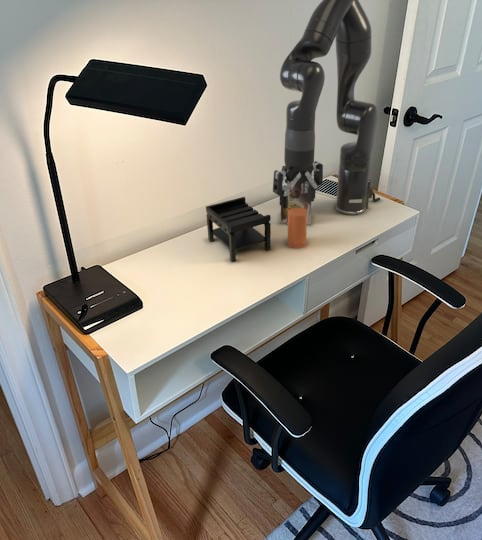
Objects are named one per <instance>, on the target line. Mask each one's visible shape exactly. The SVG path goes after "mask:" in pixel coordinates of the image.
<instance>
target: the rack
mask: <svg viewBox="0 0 482 540" xmlns="http://www.w3.org/2000/svg"><path fill="white" fill-rule="evenodd" d="M205 212H206V214H205V215H206V227H207V240H208V241H209V242H214V241H215V238H217V239H218V240H219V241H220V242H221V243H222V244H223V245H224V246H226V248H228V249H229V261H230V262H231V263H234V262H237V251H240V250H243V249H247V248H250V247H252V246H256V245H259V244H262V243H264V250H265V251H266V252H268V251H271V248H272V247H271V246H272V245H271V242H272V241H271V239H272V237H271V236H272V235H271V232H272V231H271V219H272V218H271V214H265V215H263V214H262V213H260V212H259V211H258V210H256V209H254V207H252V206H251V205H249V204H248V203H247V202H246V197H245V196H241V197H237V198H234V199H233V198H232V199H230V200H225V201H222V202H217V203H215V204H210V205H207V206H205ZM214 224H215V225H216V226H217V228H214ZM262 225H264V235H263V234H262V233H260V232H259V231H258V230H256V228H255V227H259V226H262ZM214 237H215V238H214Z"/></svg>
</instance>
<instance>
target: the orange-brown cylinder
mask: <svg viewBox="0 0 482 540" xmlns="http://www.w3.org/2000/svg"><path fill="white" fill-rule="evenodd" d="M307 226H308V225H307V210H306V209H304V208H300V207H294V208H291V209H289V210H288V224H287V239H286V241H287V242H286V243H287V246H288V247H290V248H292V249H302V248H305V246H306V245H307V231H308V230H307V229H308V228H307Z"/></svg>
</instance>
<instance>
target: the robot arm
mask: <svg viewBox="0 0 482 540" xmlns="http://www.w3.org/2000/svg"><path fill="white" fill-rule="evenodd" d="M334 41H335V56H336V74H337V75H336V76H337V77H336V78H337V93H336V111H335V113H336V115H335V116H336V125H337V128H338V129H339V131H340V132H343V133H346V134H350V135H351V134H352V135H355V136H357V139H356V141H351V142H347V143H344V144H343V145H341V146H340V149H339V161H338V175H337V189H336V203H335V210H336V211H338V212H339V213H340V214H344V215H350V216H354V215H355V216H356V215H360V214H363V213H364V212H366V210H367V209H368V208H369V200H370V199H372V201H373V202H376V203H377V202H378V201H380V200H381V198H380V197H376V193H375V191H374V188H373V187H372V188H371V183H372V182H371V180H370V179H369V178H370V168H371V159H372V151H373V148H374V144H375V137H376V132H377V131H376V130H377V125H378V116H379V110H378V107H377V105H376V104H374V103H372V102H367V101H361V100H356V99H355V87H356V84H357V80H358V79H359V77H360V76H361V74H362V73H363V71H364V69H365V68H366V66H367V64H368V63H369V61H370V58H371V56H372V25H371V23H370V20H369V18H368V16H367V14H366V12H365V10H364V8H363V6H362V4H361V2H360V1H359V0H322V1H321V2H319V4H318V5H317V6H316V7H315V9H314V11H313V12H312V14H311V16H310V18H309V20H308V22H307V25H306V27H305V29H304V32H303V34H302V37H301V38H300V40H298V42H297V43H295V44H296V45H295V46H294V47H293V48H292V50H291V51H290V52H289V54H287V56H286V58H285V59H284V61H283V63H282V64H281V67H280V71H279V79H280V83H281V86H282V87H283V88H284V89H287V90H289V91H293V92H299V93H301V97H300V100H294V101H293V100H292V101H290V102H289V103H288V104H287V106H286V116H285V131H284V132H285V133H284V160H283V161H284V166H285V169H284V171H281V170H277V169H276V170H274V172H273V180H272V181H273V182H272V192H273V193H274V194H276V195H277V196H279V206H280V208H281V207H282V208H284V209H287V208H288V196H287V195H288V193H289V191H290V190H291V189H293V187H294V186H295V185H298V184H300V183H305V182H307V184H308V185H309V187H308V189H307V199H308V200H309V201H310V202H311V203H312V202H314V201H315V199H316V194H317V193H316V192H317V188H318V186H322V185H323V183H324V170H323V169H324V165H323V164H322V163H321V162H320V161H317V160H315V149H316V146H315V145H316V131H315V126H316V111H317V108H318V103H319V100H320V97H321V94H322V92H323V91H322V90H323V89H324V85H325V78H326V76H325V70H324V68H323V66H322V65H321V64H320V63H319V62H317V61H313V60H314V59H319V58H323V57H325V56H327V55H328V54H329V52H330V51H331V48H332V46H333V43H334ZM311 173H312V174H313V175H312V176H311ZM284 176H286V177H285V179H284ZM288 181H289V182H290V184H288ZM285 188H286V189H285ZM284 190H285V191H284Z"/></svg>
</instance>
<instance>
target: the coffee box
mask: <svg viewBox="0 0 482 540" xmlns="http://www.w3.org/2000/svg"><path fill="white" fill-rule="evenodd" d="M284 169H285V165H282V166H281V170H280V171H284ZM311 176H312V177H313V172H312V173H311ZM285 177H286V176H284V179H285ZM288 184H290V182H289V181H288ZM308 187H309V185H308V184H307V182H305V183H300V184H298V185H295V186H294V187H293V189H291V190H290V191H289V193H288V195H287V196H288V208H287V209H284V208H282V207H281V206H280V224H282V225H288V210H289V209H291V208H294V207H300V208H304V209H306V210H307V226H309V225H311V222H312V202H310V201H309V200H308V199H307V189H308ZM285 189H286V188H285ZM284 191H285V190H284Z"/></svg>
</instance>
